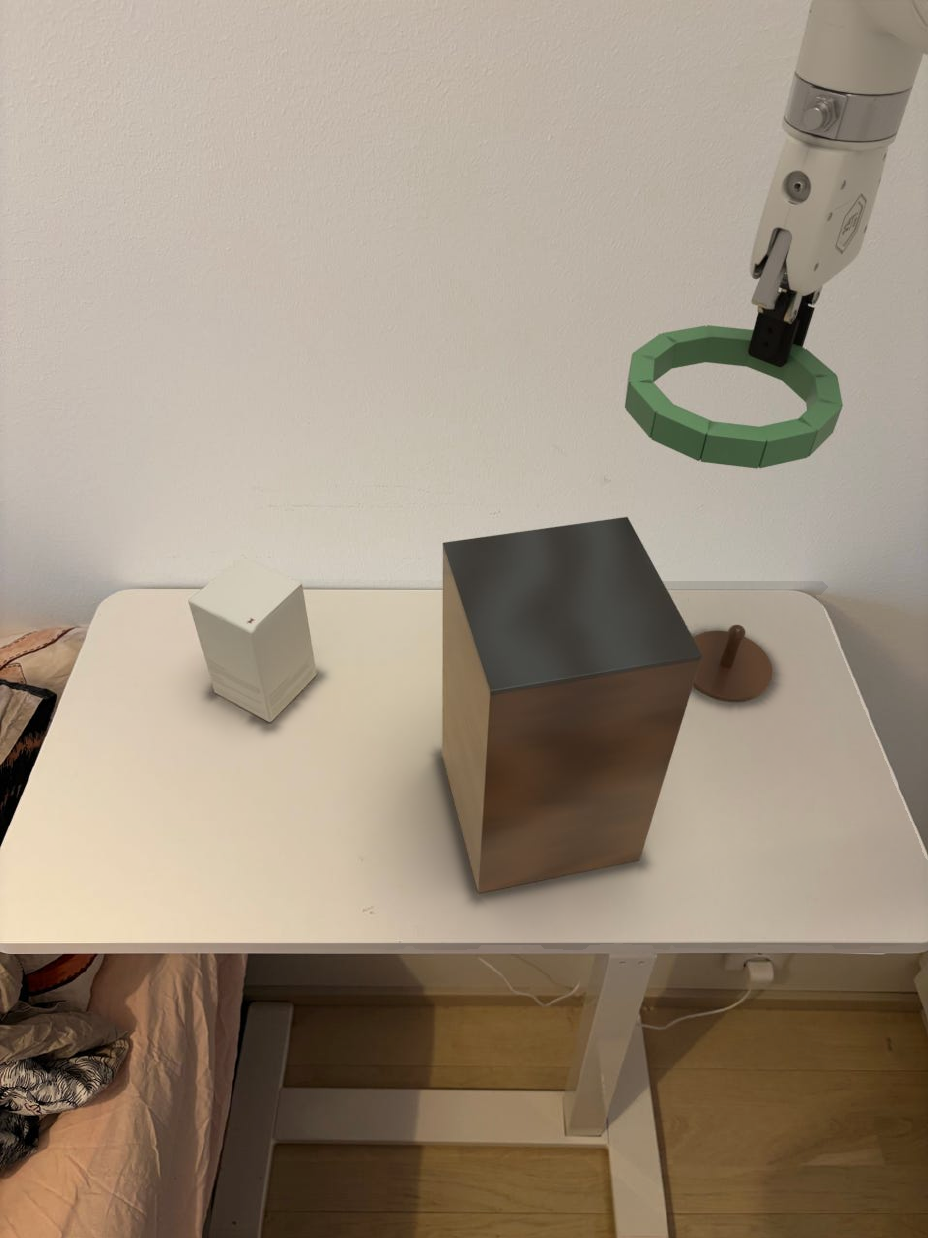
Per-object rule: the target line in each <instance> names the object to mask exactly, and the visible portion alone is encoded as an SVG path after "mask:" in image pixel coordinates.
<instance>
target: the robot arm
mask: <svg viewBox="0 0 928 1238" xmlns="http://www.w3.org/2000/svg"><path fill="white" fill-rule="evenodd" d="M924 55H926V56H928V0H811V3H810V7H809V12H808V16H807V20H806V24H805V28H804V33H803V36H802V40H801V44H800V47H799V53H798V57H797V60H796V64H795V70H794V73H793V77H792V81H791V85H790V88H789V93H788V97H787V101H786V105H785V109H784V114H783V117H782V122H781V127H782V129H783V131H784V132H785V133H786V134H787V136H786V138H785V141H784V144H783V146H782V150H781V152H780V155H779V158H778V161H777V164H776V167H775V170H774V173H773V176H772V179H771V183H770V186H769V188H768V192H767V196H766V199H765V202H764V206H763V209H762V213H761V216H760V219H759V223H758V227H757V230H756V234H755V239H754V241H753V247H752V252H751V256H750V261H749V274H750V276H751V278H752V279H754V280H758V279H759V280H758V283H757V285H756V287H755V290H754V292H753V295H752V298H751V301H750V303H751V304H752V305H754V306H757V308H756V309H757V315H756V320H755V322H754V323H755V324H754V327H753V329H752V330H753V334H752V338H751V342H750V345H749V349H748V353H749V355H750V356H752V357H754V358H757V359H759V360H762V361H764V362H767V363H769V364H772V365H774V366H777V367H783V366H784V365H785V364H786V363H787V361H788V358H789V355H790V351H791V348H792V345H793V344H795V345H798V346H801V347H803V348H804V345H805V342H806V338H807V336H808V335H807V334H808V332H809V328H810V325H811V322H812V319H813V315H814V312H815V309H816V308H815V307H813V306H815V305H816V304H817V302H818V300H819V298H820V295H821V293H822V289H823V286H824V285H825V284H827V283H829V281H831V280H832V279H833V278H834V277H835V276H837V275H839V273H840V272H842V271H843V270H844V269H846V268H847V267H848V266H849V265H850V264H851V263H853V262H854V260H856V258H857V257H858V255H859V253H860V251H861V250H862V246H863V243H864V240H865V237H866V233H867V230H868V226H869V223H870V219H871V217H872V216H871V215H872V213H873V209H874V206H875V201H876V198H877V194H878V192H879V191H878V190H879V187H880V183H881V180H882V176H883V172H884V168H885V165H886V161H887V160H886V159H887V156H888V150H889V146H890V145H892V144H893V143H894V142H895V141H896V139H897V135H898V132H899V129H900V127H901V124H902V120H903V117H904V115H905V111H906V108H907V105H908V102H909V99H910V97H911V93H912V91H913V87H914V84H915V81H916V78H917V76H918V72H919V69H920V65H921V63H922V61H923V57H924Z"/></svg>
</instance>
